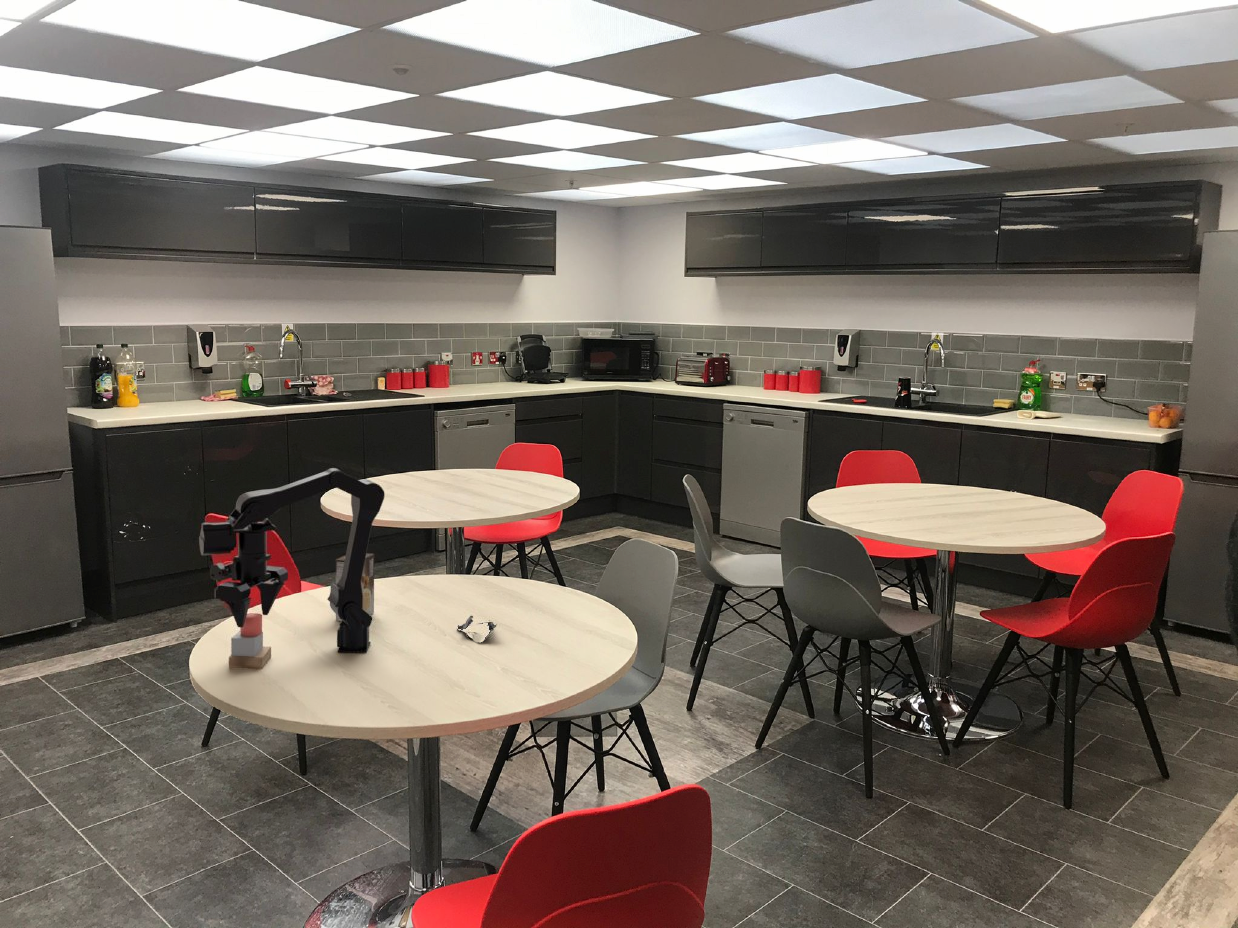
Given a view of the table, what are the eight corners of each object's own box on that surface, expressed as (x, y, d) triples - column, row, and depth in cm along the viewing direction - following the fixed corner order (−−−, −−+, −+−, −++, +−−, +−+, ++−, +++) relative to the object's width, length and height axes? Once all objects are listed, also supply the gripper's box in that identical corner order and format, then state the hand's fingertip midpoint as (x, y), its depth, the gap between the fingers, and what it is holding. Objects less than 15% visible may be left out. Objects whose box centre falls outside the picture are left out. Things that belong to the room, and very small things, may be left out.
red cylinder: (264, 631, 206) (264, 613, 206) (258, 637, 202) (258, 619, 201) (244, 630, 206) (244, 612, 205) (237, 636, 201) (237, 618, 201)
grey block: (262, 648, 206) (262, 631, 206) (254, 656, 201) (254, 638, 201) (240, 647, 206) (240, 630, 206) (231, 655, 201) (231, 637, 201)
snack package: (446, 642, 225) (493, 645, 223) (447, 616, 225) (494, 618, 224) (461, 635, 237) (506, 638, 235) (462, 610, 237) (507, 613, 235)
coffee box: (352, 610, 245) (352, 551, 243) (374, 613, 244) (375, 553, 241) (334, 620, 236) (335, 559, 234) (358, 623, 235) (358, 561, 232)
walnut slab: (271, 659, 208) (271, 646, 208) (262, 670, 201) (262, 657, 201) (238, 659, 208) (238, 646, 207) (228, 670, 201) (228, 657, 200)
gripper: (245, 539, 212) (245, 605, 214) (191, 557, 194) (192, 629, 196) (289, 543, 210) (289, 610, 212) (239, 562, 191) (239, 635, 194)
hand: (253, 620), depth 203 cm, fingers open, 9 cm apart
